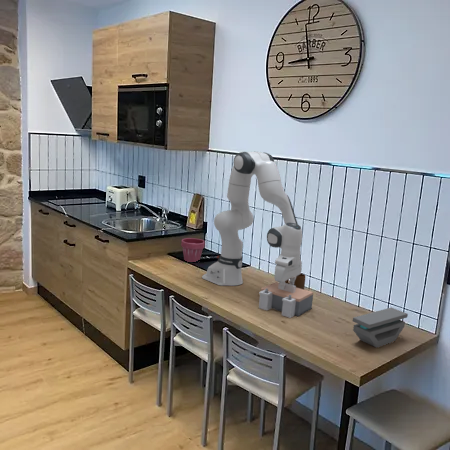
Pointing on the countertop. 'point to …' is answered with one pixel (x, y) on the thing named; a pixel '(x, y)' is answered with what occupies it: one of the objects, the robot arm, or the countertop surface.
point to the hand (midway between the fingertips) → (287, 287)
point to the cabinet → (285, 304)
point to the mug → (299, 281)
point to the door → (286, 292)
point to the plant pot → (192, 249)
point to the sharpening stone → (379, 326)
